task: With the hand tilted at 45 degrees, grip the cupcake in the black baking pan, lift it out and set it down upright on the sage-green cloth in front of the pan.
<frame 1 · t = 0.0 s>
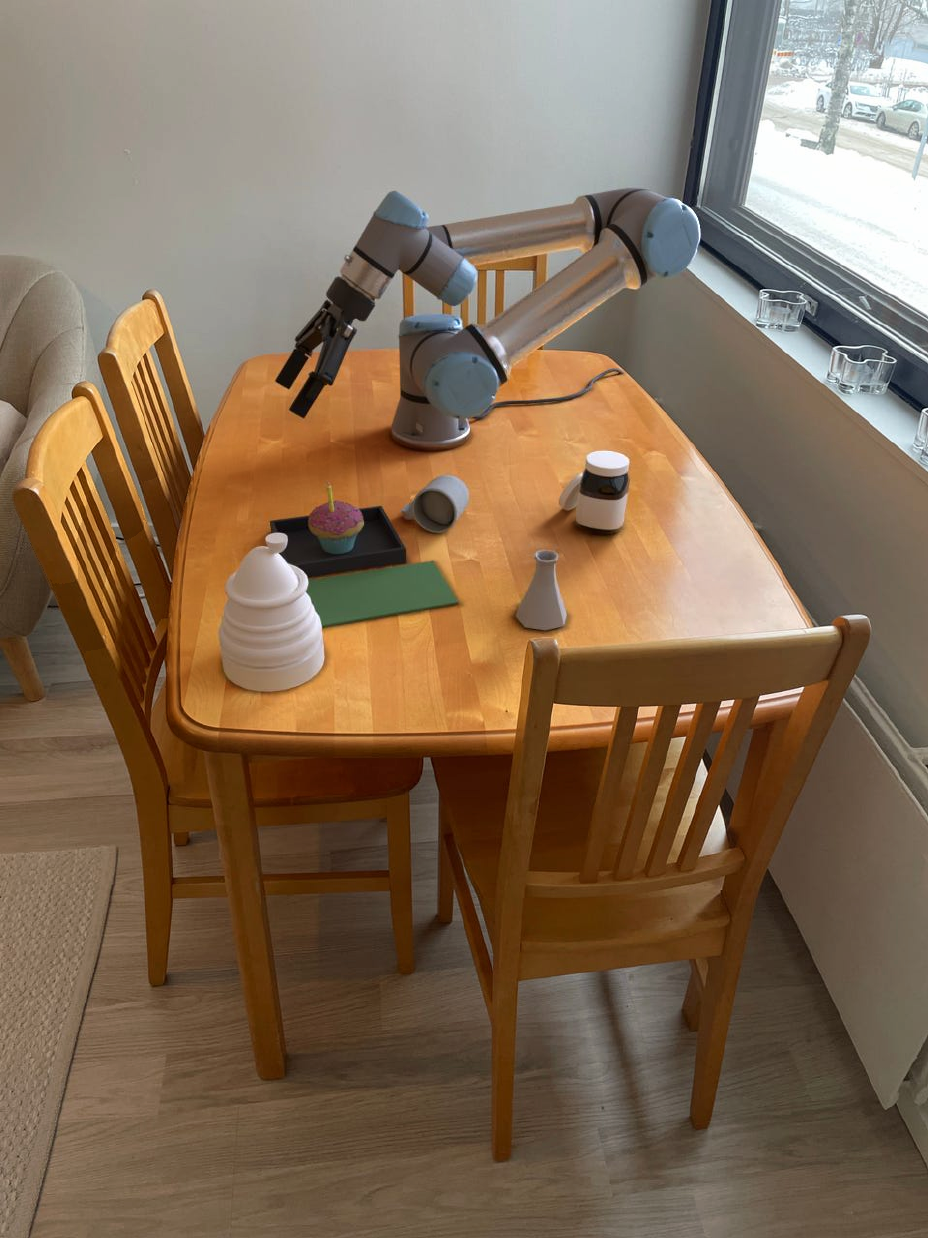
hand: (288, 399, 152), 15 cm above the table, tool tilted 35°, fingers open, 13 cm apart
cupcake: (337, 547, 142), resting on baking pan
flask: (541, 618, 128), on the table
green cloth: (379, 593, 132), on the table
spread jar: (590, 521, 152), on the table
honey pot: (274, 661, 118), on the table
ceramic mug: (433, 522, 150), on the table
baking pan: (337, 548, 142), on the table
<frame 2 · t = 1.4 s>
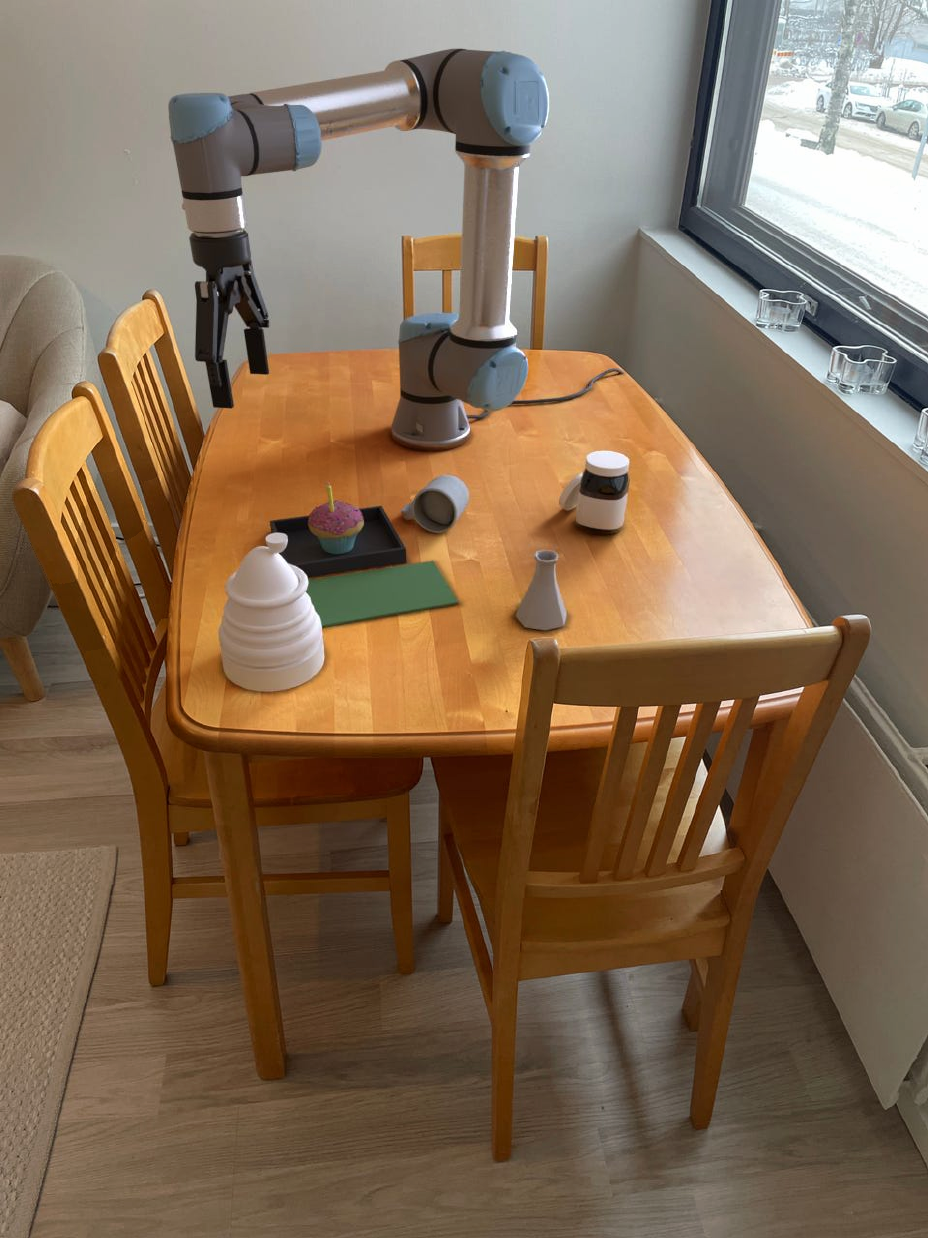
hand: (242, 389, 130), 24 cm above the table, tool pointing down, fingers open, 13 cm apart
nothing on the table moved.
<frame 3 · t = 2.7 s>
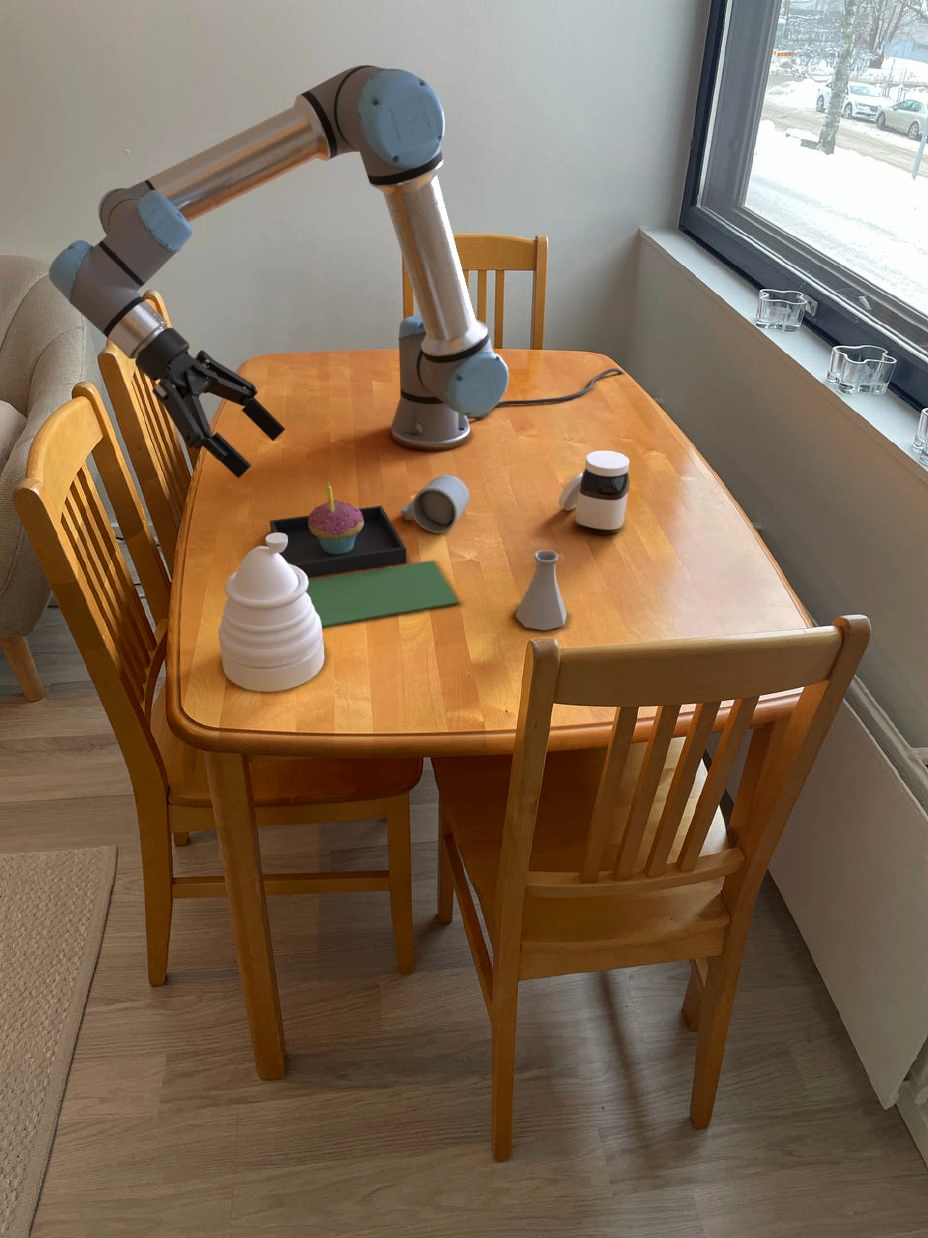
hand: (263, 453, 135), 15 cm above the table, tool tilted 45°, fingers open, 13 cm apart
nothing on the table moved.
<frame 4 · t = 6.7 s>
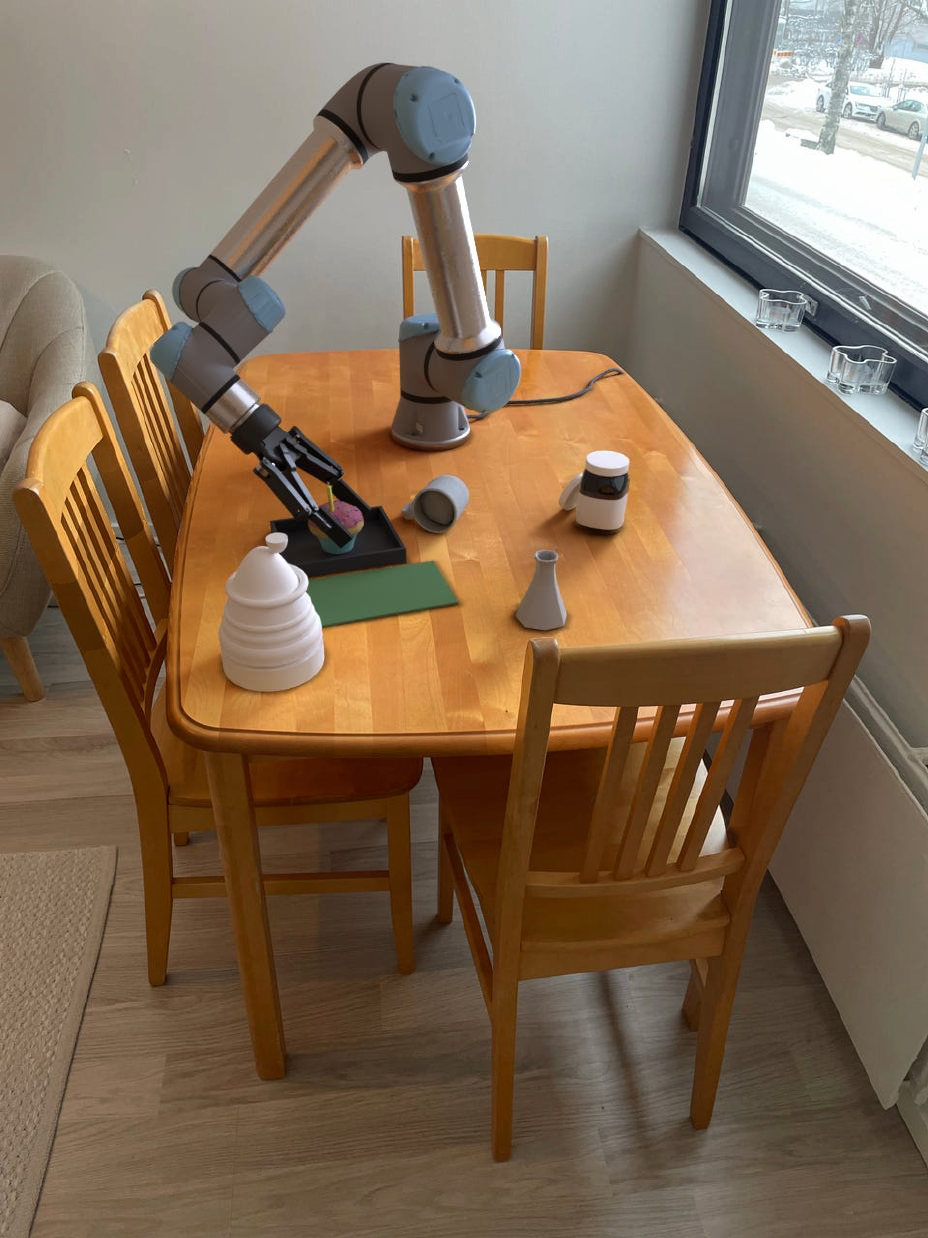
hand: (356, 527, 139), 4 cm above the table, tool tilted 45°, fingers closed on cupcake, 9 cm apart
cupcake: (337, 547, 142), resting on baking pan, touching gripper
everything else where it was.
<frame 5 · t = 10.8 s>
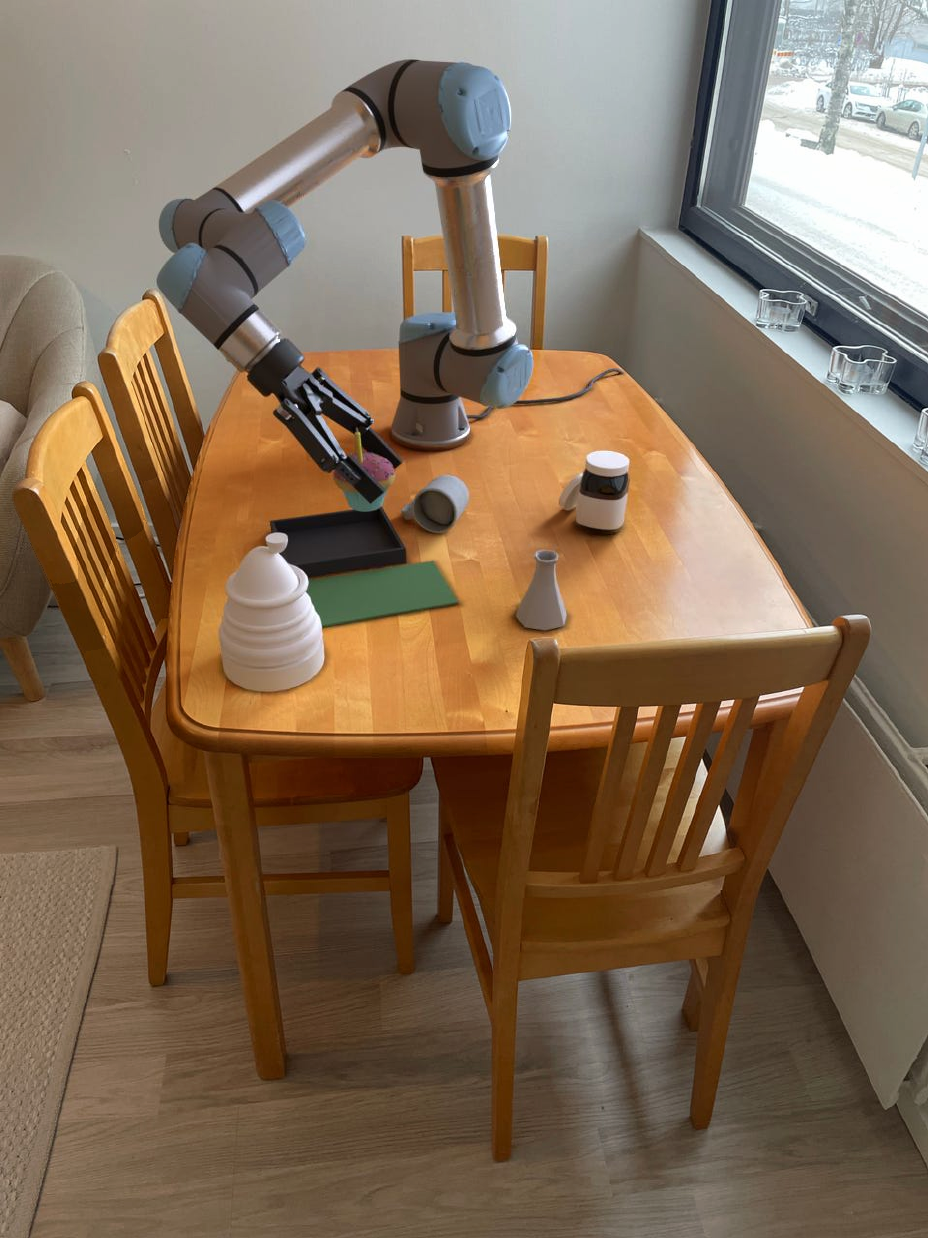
hand: (387, 481, 124), 17 cm above the table, tool tilted 45°, fingers closed on cupcake, 9 cm apart
cupcake: (364, 504, 127), point 13 cm above the table, touching gripper
everything else where it was.
when the fingers open (4 cm above the table, at t = 14.9 s): cupcake stays where it is, resting on green cloth.
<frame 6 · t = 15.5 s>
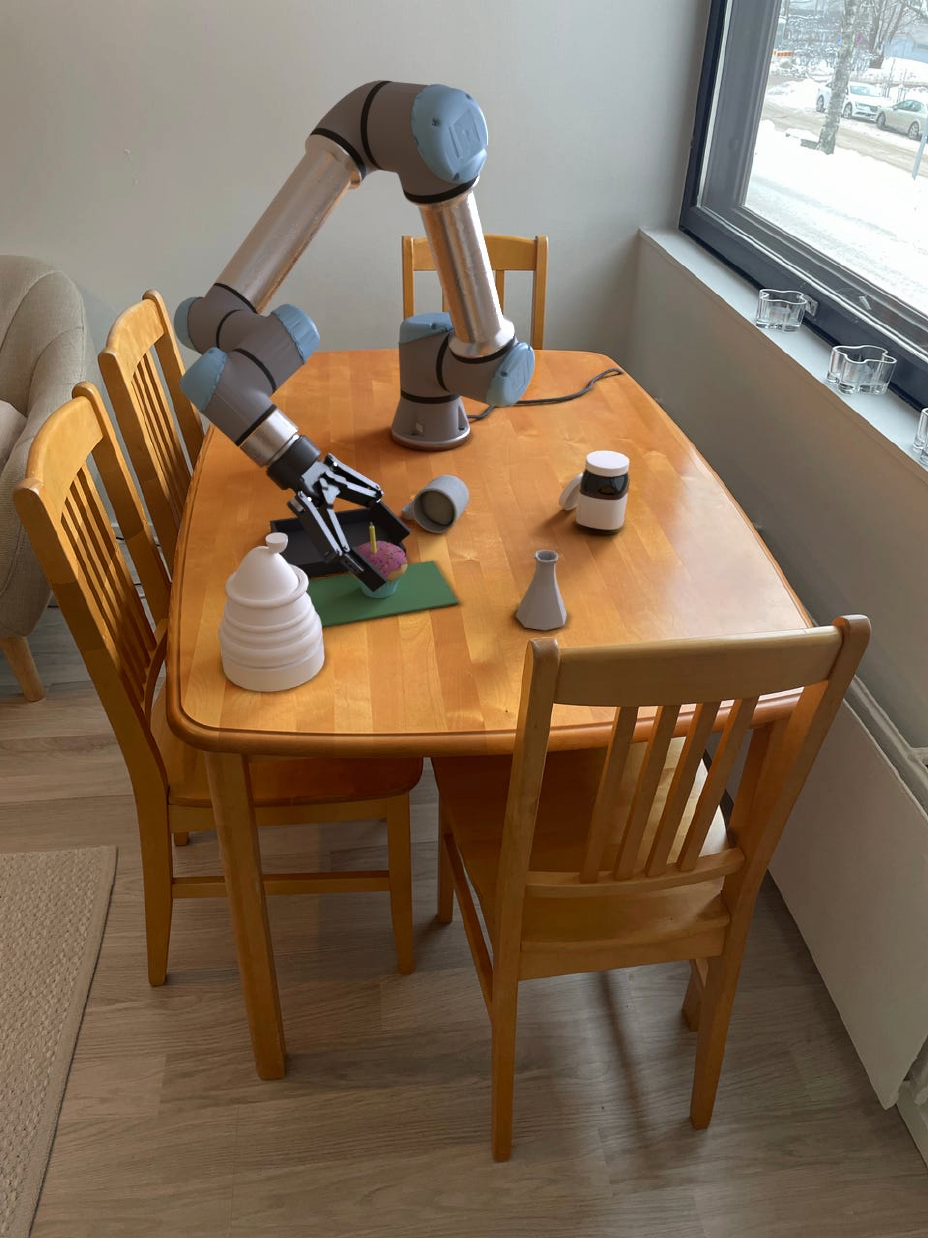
hand: (393, 561, 129), 5 cm above the table, tool tilted 45°, fingers open, 13 cm apart
cupcake: (378, 590, 132), resting on green cloth
everything else where it was.
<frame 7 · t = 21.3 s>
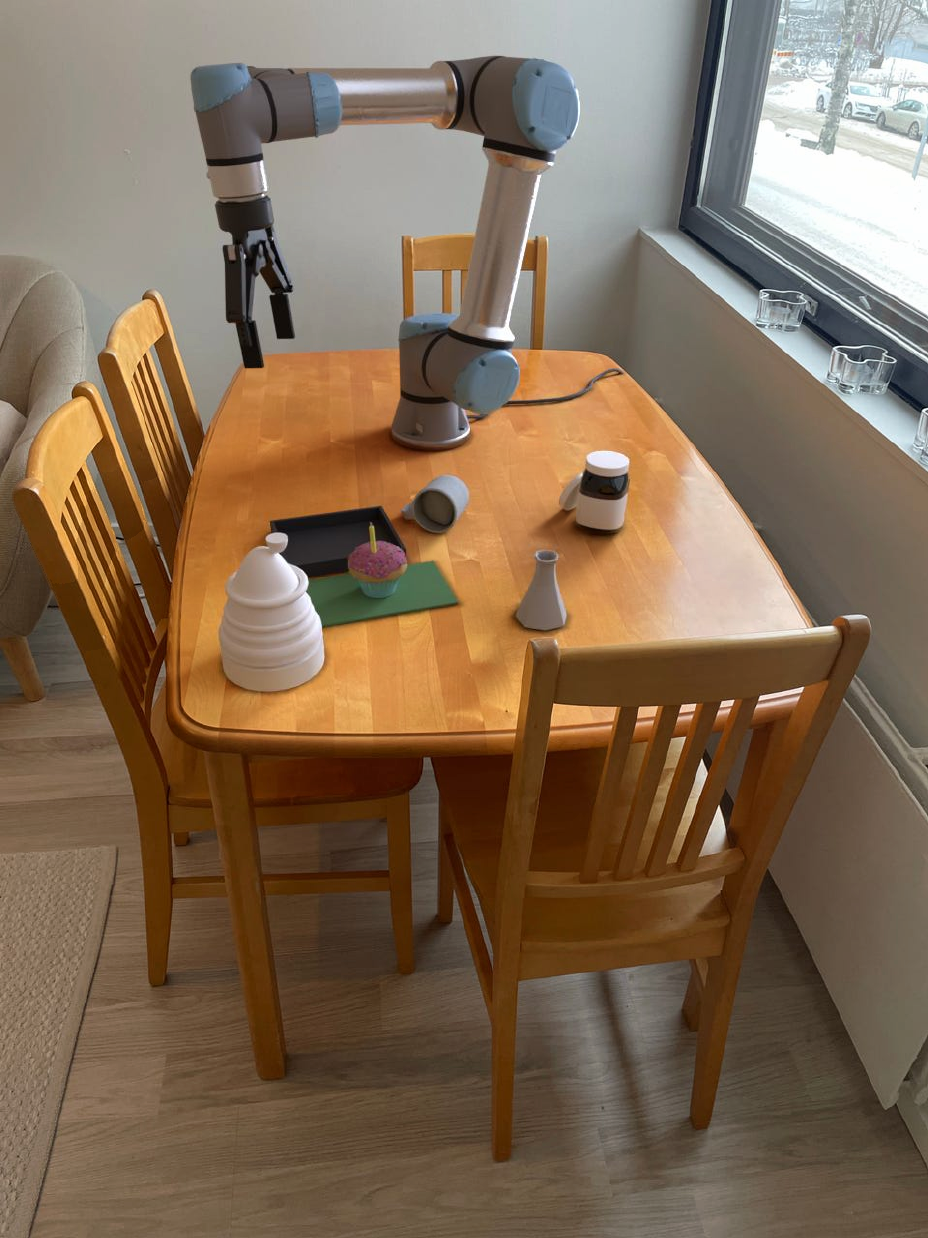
hand: (271, 352, 135), 27 cm above the table, tool pointing down, fingers open, 13 cm apart
nothing on the table moved.
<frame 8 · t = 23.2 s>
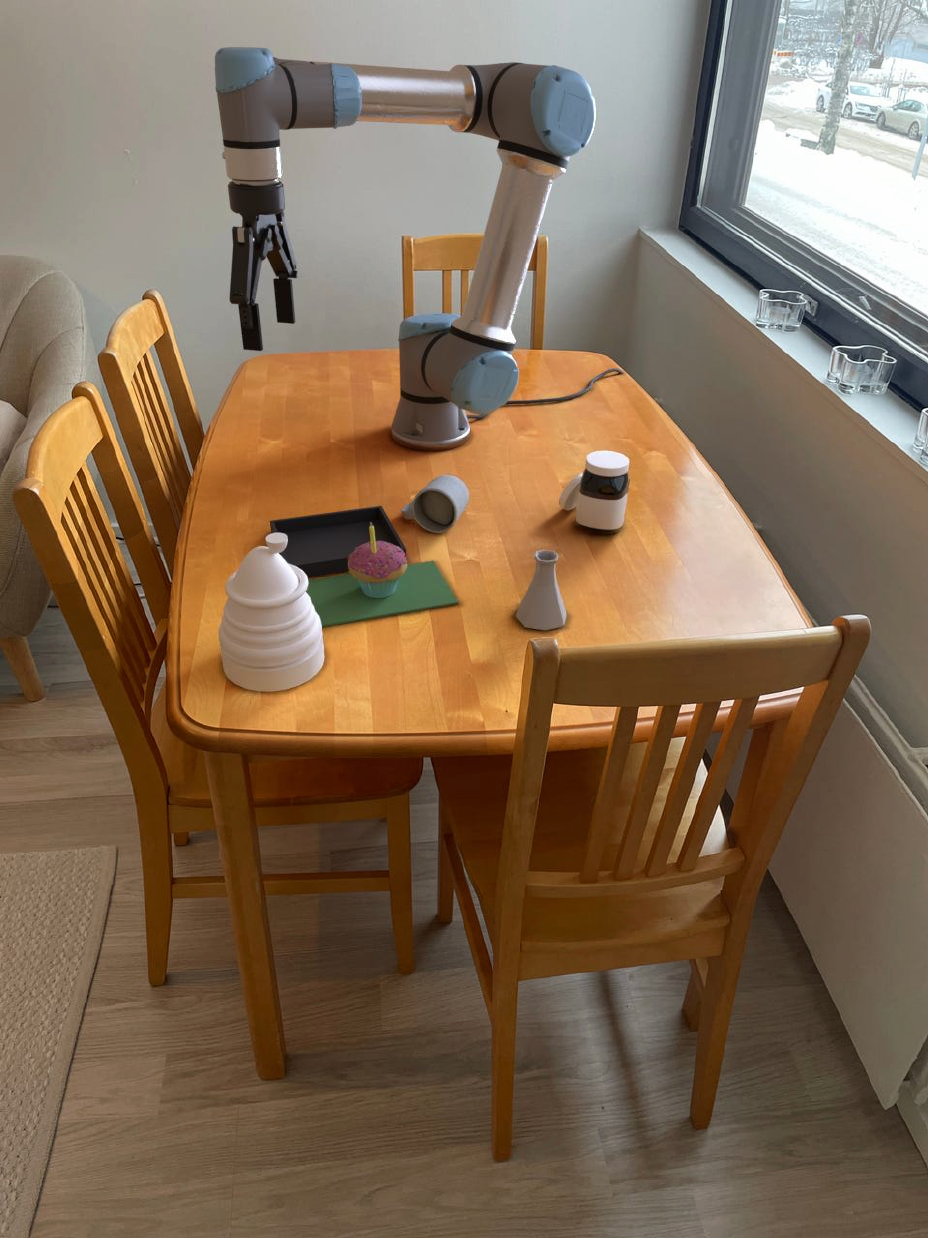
hand: (270, 335, 137), 29 cm above the table, tool pointing down, fingers open, 13 cm apart
nothing on the table moved.
at the end: cupcake inside the target area on the green cloth (0.5 cm from its centre), point 0.2 cm above the green cloth's base; cupcake tilted 0°; the gripper is holding nothing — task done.
